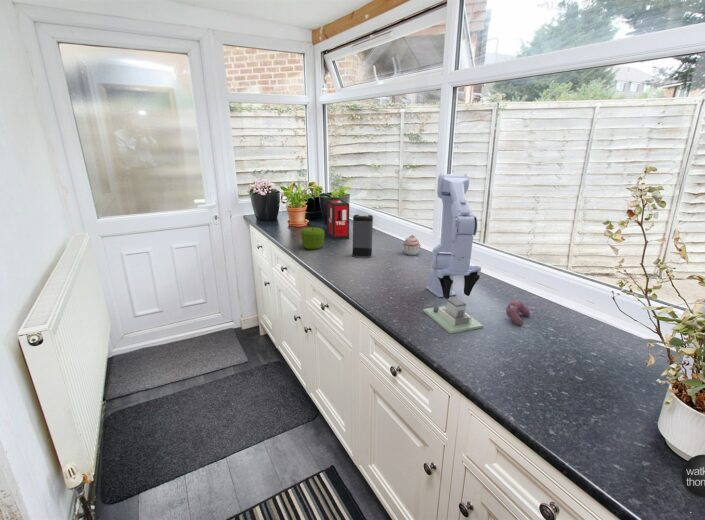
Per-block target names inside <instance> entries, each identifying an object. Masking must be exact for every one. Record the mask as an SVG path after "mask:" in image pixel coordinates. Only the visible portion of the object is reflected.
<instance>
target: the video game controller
mask: <svg viewBox="0 0 705 520" xmlns="http://www.w3.org/2000/svg"><path fill="white" fill-rule="evenodd" d="M505 310H506V311H505V312H506V315H507V316H508V317H509V318H510V320H511V321H512V322H514V324H516V325H517V326H519V327H520V326H522V325H524V321H523V320H522V318H521V316H520V315H521V314H522V315H523V316H525V317H530V315H531V312H530V309H528V308H527V307H526V306H525V304H524V303H523V302H522V300H521V301H520V299H518V300H517V299H514V300H511V301H509V303H508V305H507V306H506V307H505Z"/></svg>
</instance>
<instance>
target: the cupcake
mask: <svg viewBox="0 0 705 520" xmlns="http://www.w3.org/2000/svg"><path fill="white" fill-rule="evenodd" d="M402 246H403V250H404V251H403V252H404V254H405V255H407V256H416V255H418V252H419V250H420V249H421V247H422V246H421V244H420V242H419V239H418V238H417V237H416V236H415V235H414V234H411V235H409V236H408V237H406V238H405V240H404V242H403V243H402Z"/></svg>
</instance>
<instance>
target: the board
mask: <svg viewBox="0 0 705 520" xmlns="http://www.w3.org/2000/svg"><path fill="white" fill-rule="evenodd" d="M446 306H447V305H441V306H438V305H434V306H432V307H428V308H423V312H424V313H425V314H426V315H427V316H428V317H430V318H431V319H432V320H433V321H434V322H436V323H437V325H439V326H440V327H442V328H443V329H444V330H445V331H446V332H448V334H451V335H452V334H455V333H461V332H466V331H472V330H478V329H483V328H484V324H482V323H480V321H478V320H477V319H475V318H474V317H472V316H471V315H469V314H468V313H467V312H465V315H464V317H460V318H453V317H452V316H450V315H449V314H448V313H446Z"/></svg>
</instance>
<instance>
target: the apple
mask: <svg viewBox="0 0 705 520" xmlns="http://www.w3.org/2000/svg"><path fill="white" fill-rule="evenodd" d="M300 236H301V238H300V239H301V242H302V246H303V247H304V248H305V249H307V250H309V249H310V250H312V251H313V250H314V251H315V250H318V249H320V248H321V247H322V246H323V245H324V240H325V236H326V235H325V230H324V229H323V228H321V227H318V226H317V227H313V226H311V227H309V226H308V227H305V228H303V229H301V231H300ZM310 250H309V251H310Z"/></svg>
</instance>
